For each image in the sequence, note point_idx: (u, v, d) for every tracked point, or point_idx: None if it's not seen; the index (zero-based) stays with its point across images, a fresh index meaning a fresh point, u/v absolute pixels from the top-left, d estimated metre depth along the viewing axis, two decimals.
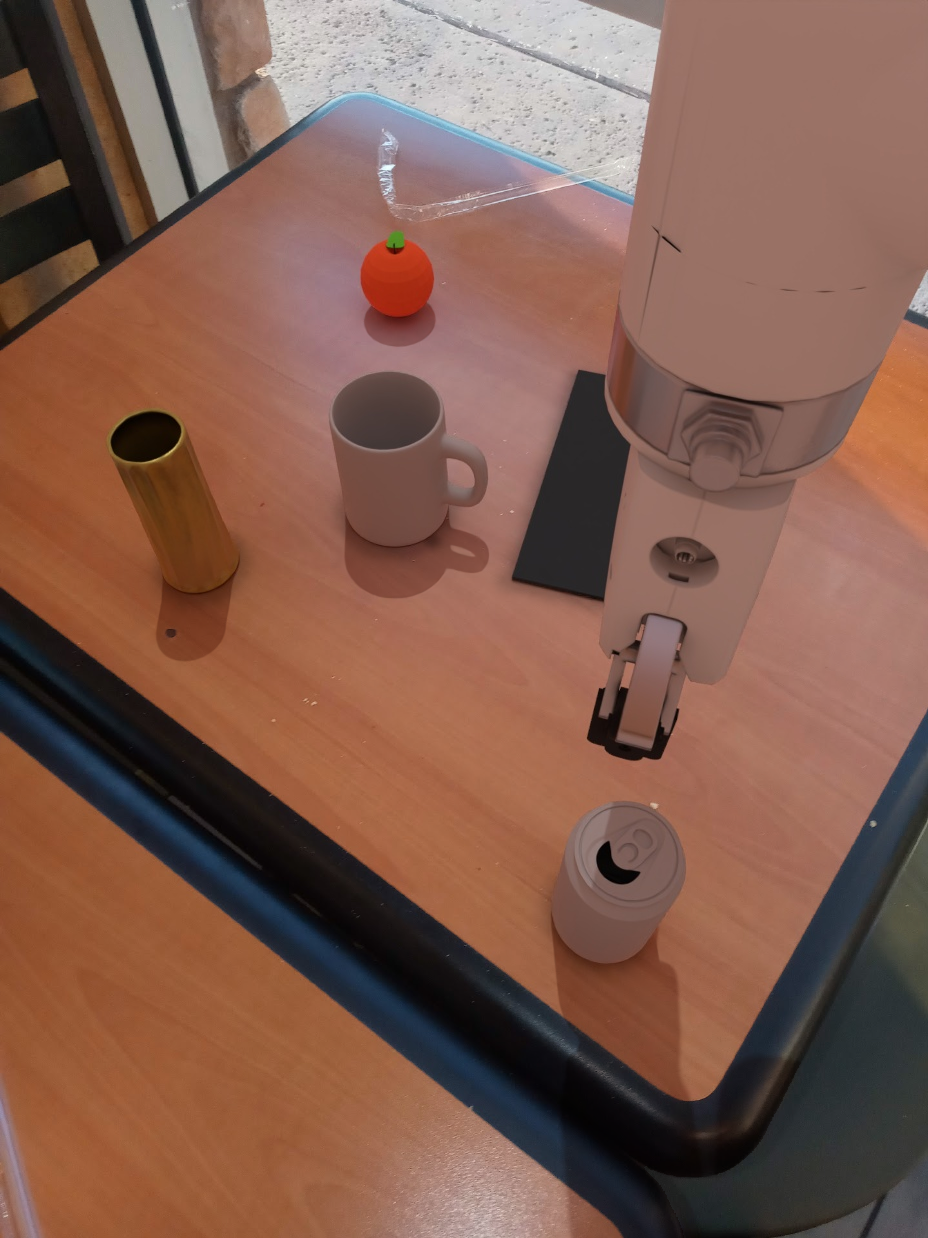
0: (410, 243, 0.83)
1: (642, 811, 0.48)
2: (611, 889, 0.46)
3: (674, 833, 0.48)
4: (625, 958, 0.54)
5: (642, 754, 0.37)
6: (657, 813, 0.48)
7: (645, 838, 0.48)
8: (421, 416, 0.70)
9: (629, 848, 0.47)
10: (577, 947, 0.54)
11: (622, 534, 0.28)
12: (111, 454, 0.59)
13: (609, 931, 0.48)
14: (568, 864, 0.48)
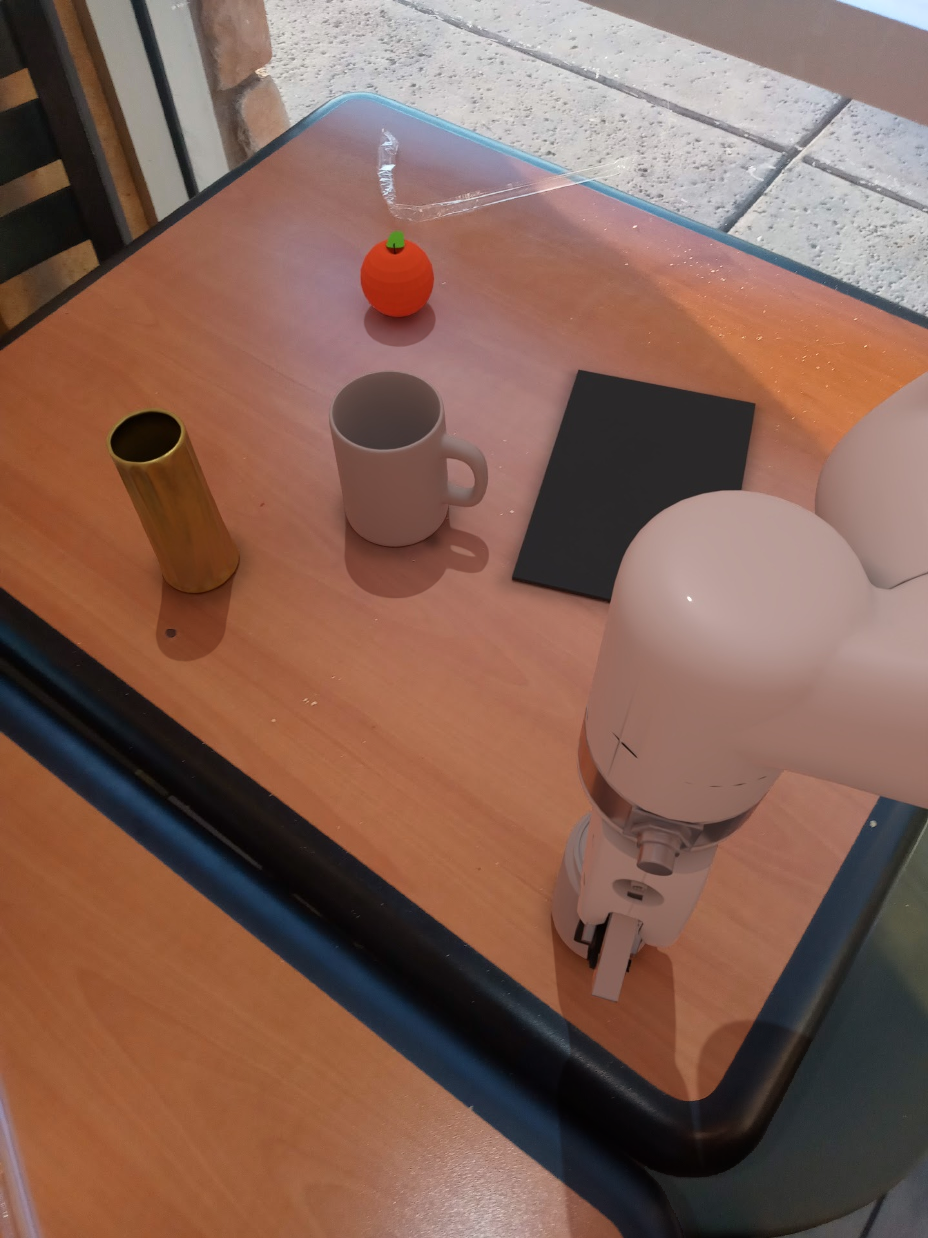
0: (410, 243, 0.83)
1: None
2: None
3: None
4: None
5: None
6: None
7: None
8: (421, 416, 0.70)
9: None
10: (577, 947, 0.54)
11: (591, 866, 0.38)
12: (111, 454, 0.59)
13: None
14: (568, 865, 0.48)
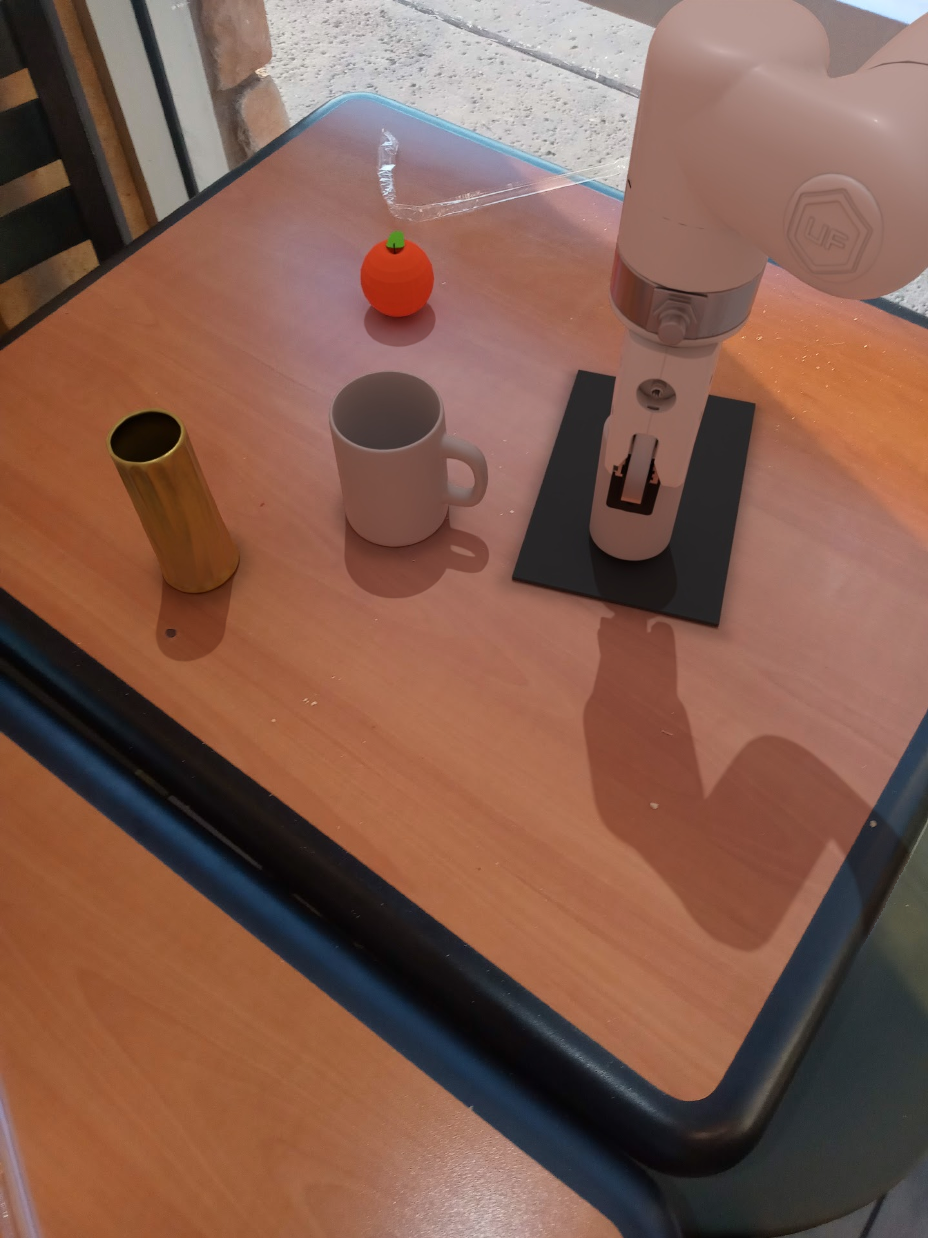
0: (410, 243, 0.83)
1: None
2: None
3: None
4: (649, 553, 0.69)
5: (640, 505, 0.60)
6: None
7: None
8: (421, 416, 0.70)
9: None
10: (611, 541, 0.69)
11: (620, 381, 0.48)
12: (111, 454, 0.59)
13: None
14: (606, 433, 0.63)
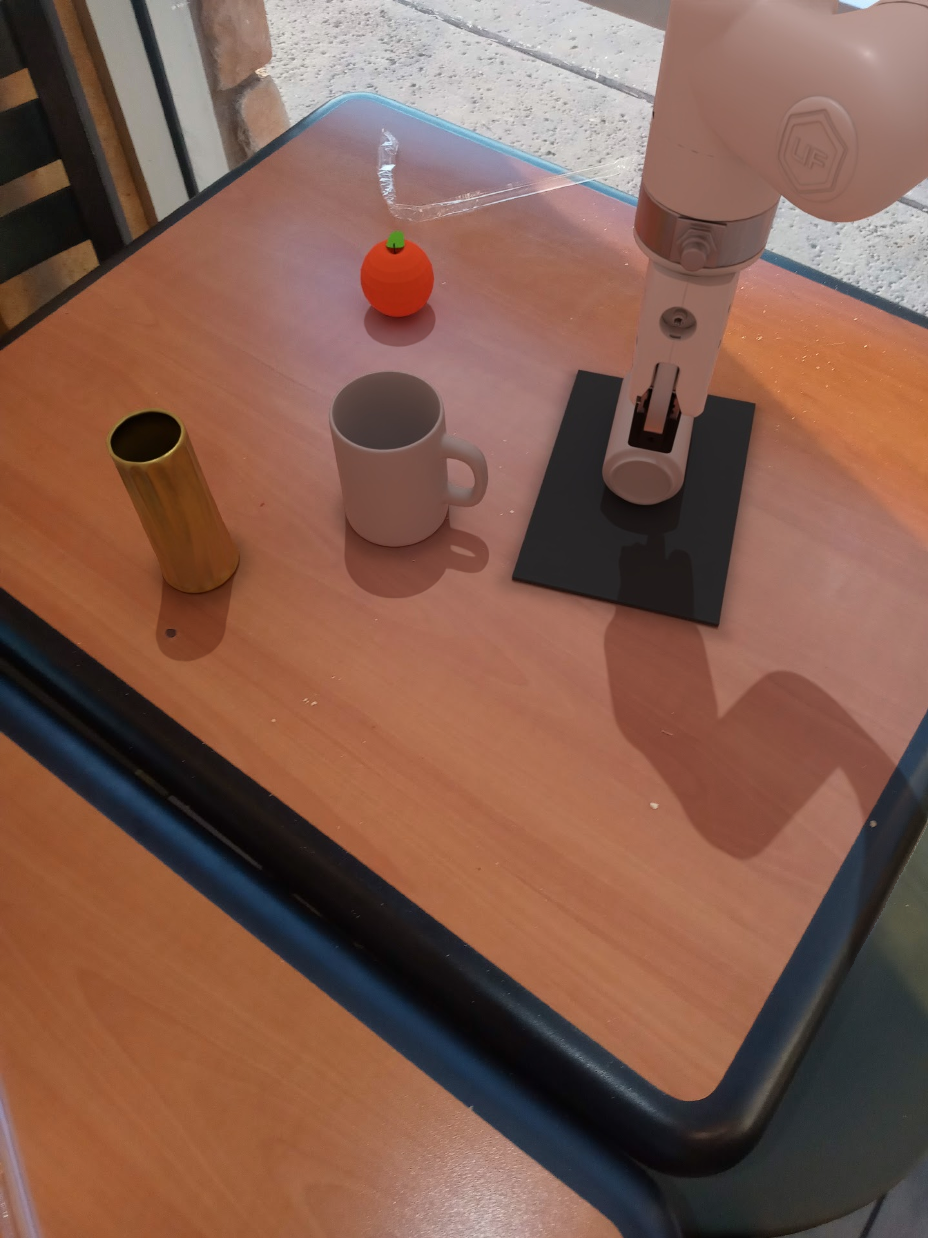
0: (410, 243, 0.83)
1: None
2: None
3: None
4: (672, 451, 0.69)
5: (661, 442, 0.64)
6: None
7: None
8: (421, 416, 0.70)
9: None
10: None
11: (644, 312, 0.52)
12: (111, 454, 0.59)
13: None
14: (628, 372, 0.76)
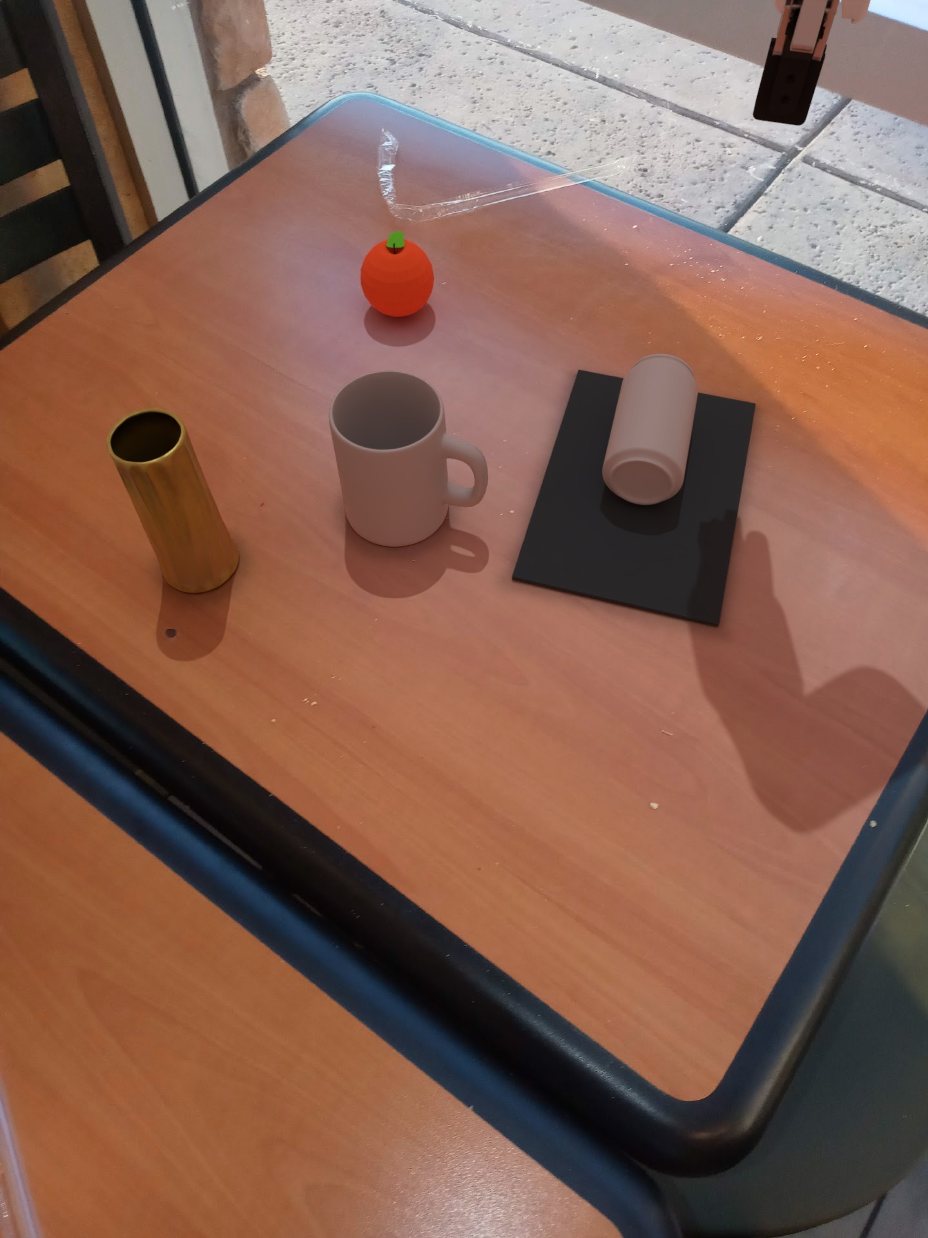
0: (410, 243, 0.83)
1: None
2: None
3: None
4: (672, 451, 0.69)
5: (796, 102, 0.54)
6: None
7: None
8: (421, 416, 0.70)
9: None
10: (636, 434, 0.70)
11: None
12: (111, 454, 0.59)
13: (662, 380, 0.73)
14: None
